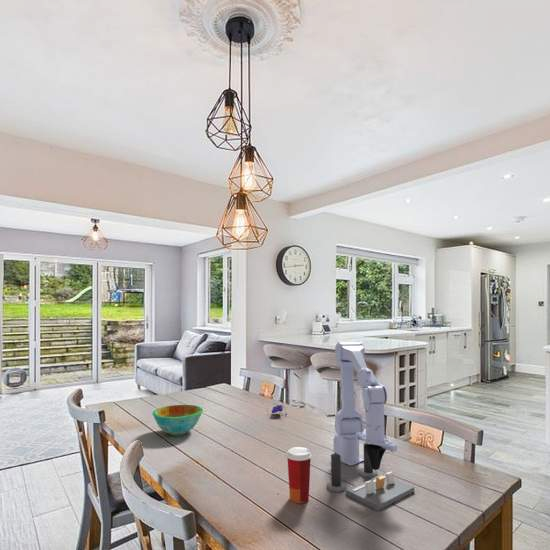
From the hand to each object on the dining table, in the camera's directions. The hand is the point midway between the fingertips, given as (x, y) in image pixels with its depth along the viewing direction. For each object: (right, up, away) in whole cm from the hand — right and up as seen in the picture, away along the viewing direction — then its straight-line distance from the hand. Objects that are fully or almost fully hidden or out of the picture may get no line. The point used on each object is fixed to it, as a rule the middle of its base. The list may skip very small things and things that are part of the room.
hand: (375, 468), depth 122 cm
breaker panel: (+1, -7, -2) cm, 7 cm away
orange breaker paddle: (+1, -5, -1) cm, 5 cm away
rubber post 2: (+1, -8, +12) cm, 14 cm away
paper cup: (-24, -7, -5) cm, 26 cm away
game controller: (-29, -13, +83) cm, 89 cm away
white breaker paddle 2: (+5, -5, +1) cm, 7 cm away
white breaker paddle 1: (-3, -5, -5) cm, 7 cm away
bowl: (-76, -11, +55) cm, 94 cm away
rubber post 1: (-12, -7, +2) cm, 14 cm away
